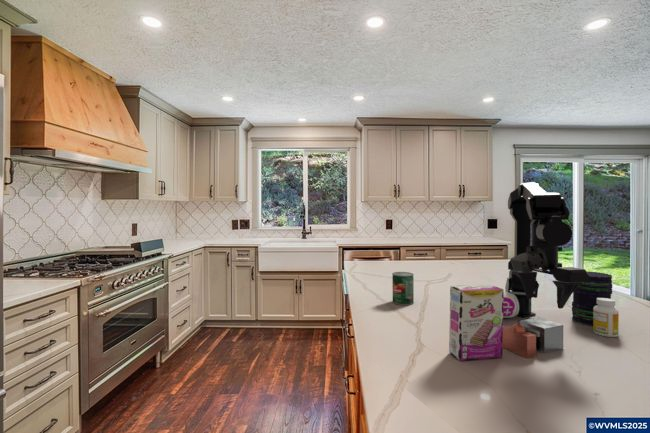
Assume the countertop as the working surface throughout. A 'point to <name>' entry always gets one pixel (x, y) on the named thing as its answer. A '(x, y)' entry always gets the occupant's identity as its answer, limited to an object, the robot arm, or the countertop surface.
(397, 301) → the canned tomato
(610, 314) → the supplement bottle
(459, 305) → the candy bar box
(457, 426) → the countertop surface
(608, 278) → the storage jar
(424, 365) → the countertop surface
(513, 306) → the supplement can
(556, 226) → the robot arm
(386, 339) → the countertop surface
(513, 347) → the coupler rail
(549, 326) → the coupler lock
